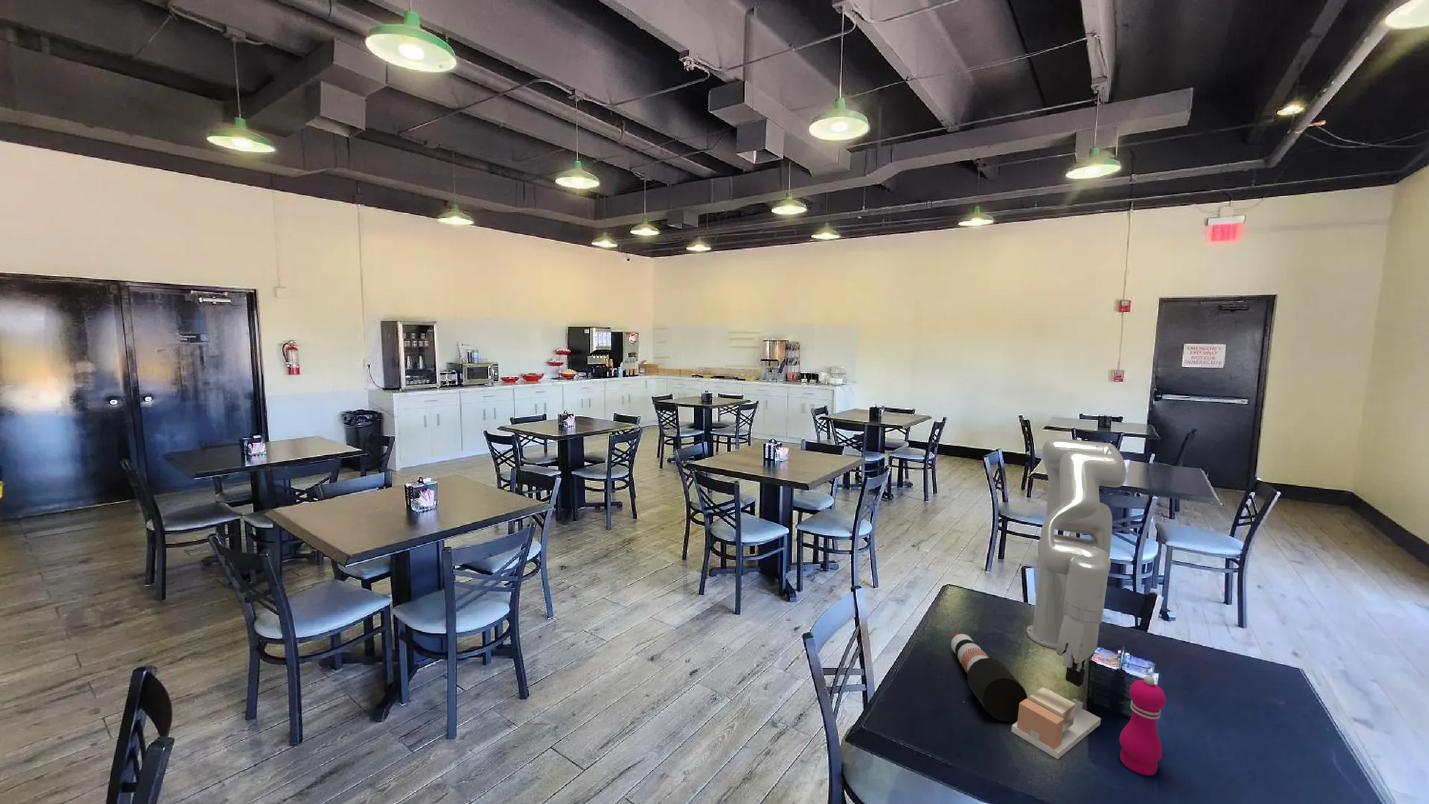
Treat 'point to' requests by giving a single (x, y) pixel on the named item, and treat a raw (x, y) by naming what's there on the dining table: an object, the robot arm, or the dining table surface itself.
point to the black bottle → (989, 679)
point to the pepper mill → (1143, 728)
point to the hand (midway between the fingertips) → (1074, 682)
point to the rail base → (1067, 735)
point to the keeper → (1055, 705)
